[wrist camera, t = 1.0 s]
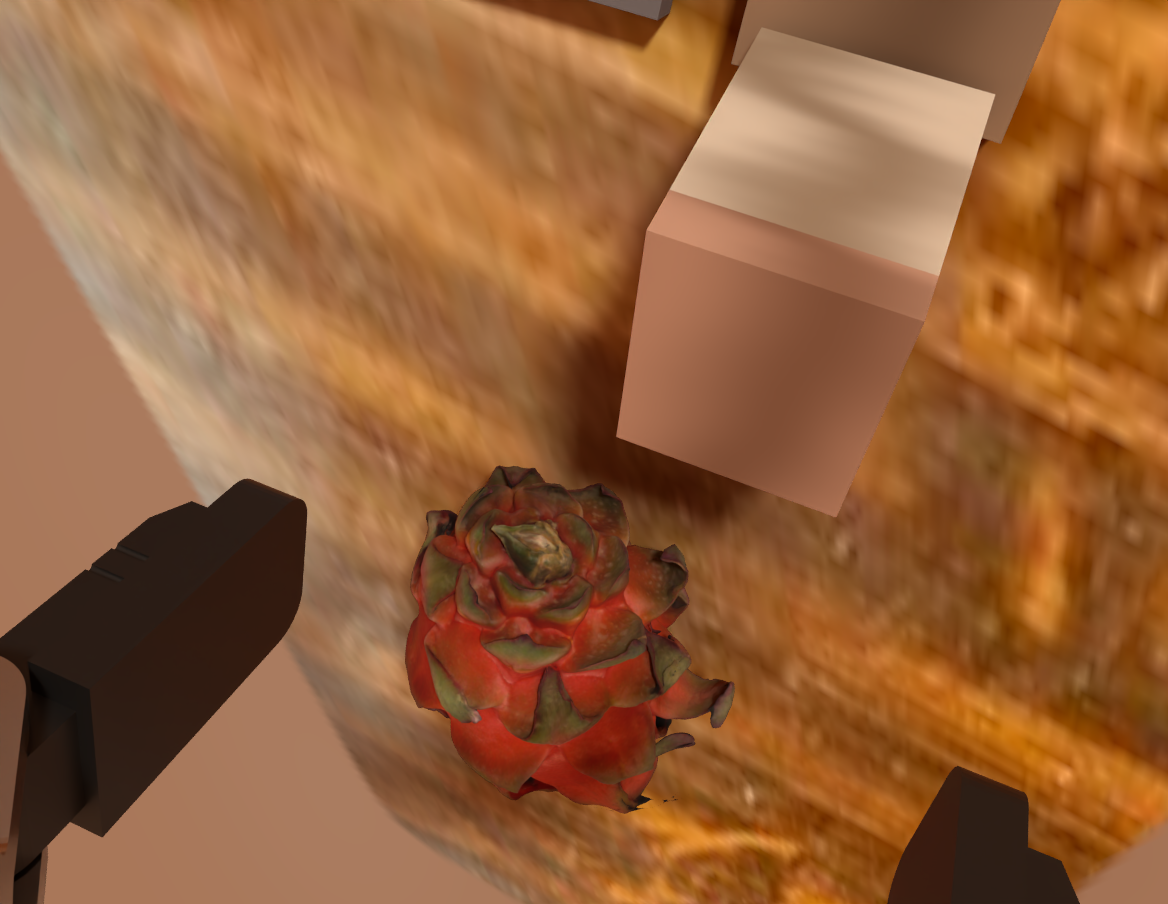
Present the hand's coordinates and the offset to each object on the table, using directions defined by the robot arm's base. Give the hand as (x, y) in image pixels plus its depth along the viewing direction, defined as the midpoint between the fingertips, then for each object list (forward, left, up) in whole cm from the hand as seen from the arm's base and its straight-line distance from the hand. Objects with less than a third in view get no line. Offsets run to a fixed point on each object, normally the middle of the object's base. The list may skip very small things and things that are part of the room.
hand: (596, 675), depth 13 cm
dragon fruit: (-3, -14, -18) cm, 22 cm away
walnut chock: (0, +5, -17) cm, 18 cm away
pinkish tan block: (0, 0, -17) cm, 17 cm away
